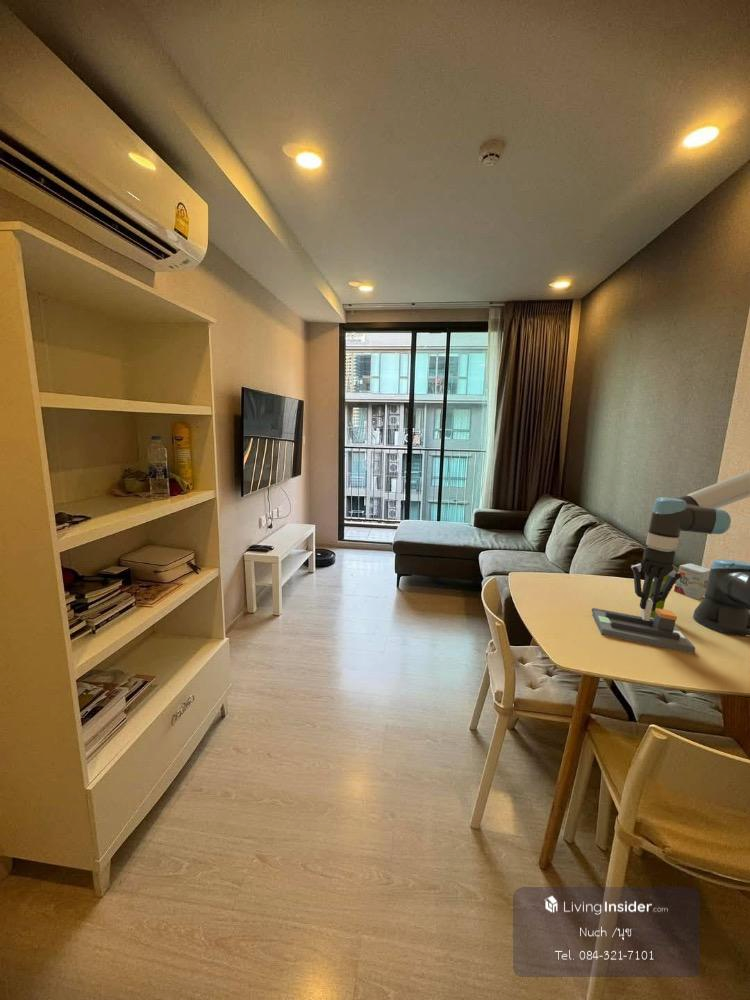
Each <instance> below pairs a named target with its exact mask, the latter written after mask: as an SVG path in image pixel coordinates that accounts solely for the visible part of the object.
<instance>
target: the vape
mask: <svg viewBox="0 0 750 1000" xmlns="http://www.w3.org/2000/svg"><path fill="white" fill-rule="evenodd" d="M669 574H670V573H669ZM669 574H667V575H666V576H665V577H664V579H663V582H662V584H661V589H662V587H663V585H664V584H665V582H666V580H667V578H668V577H669V576H670V575H669ZM654 579H655V578H653V580H652V584H651V588H650V593H649V597H648V598H650V599H651V593H652V588H653V584H654ZM661 589H660V591H661ZM665 603H666V600H665V601H659V602H658V603H656V608H658V609H664V607H665ZM656 608H655V610H656ZM655 610H654V611H652V610H651V615H650V617H651V618H654V617H655Z"/></svg>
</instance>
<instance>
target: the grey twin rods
mask: <svg viewBox="0 0 750 1000" xmlns="http://www.w3.org/2000/svg"><path fill="white" fill-rule="evenodd" d="M593 610H597V611H602V612H605V611H610V612H615V613H621V614H626V615H631V616H637V617H641V615H640V616H639V615H633V614H628V613H623V612H618V611H613V610H607V609H602V608H596V607H592V608H591V612H592V613H593ZM650 619H653V620H654V618H652V617H650Z"/></svg>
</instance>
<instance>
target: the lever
mask: <svg viewBox="0 0 750 1000" xmlns="http://www.w3.org/2000/svg"><path fill="white" fill-rule="evenodd" d="M653 619H654V622H653V627H654V628H655V629H660V630H665V631H670V632H673V630H674V626H675V625H676V621H677V619H678V616H677V614H675V613H674V612H673V611H672V610H670V609H669V610H668V609H664V608H663V609H658V608H656V610H655V617H653Z"/></svg>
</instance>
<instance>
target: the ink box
mask: <svg viewBox="0 0 750 1000" xmlns="http://www.w3.org/2000/svg"><path fill="white" fill-rule="evenodd" d="M677 572H678V573H679V574H681V577H680V578H679V579H678V580H676V582H675V583H674V589H673V592H676V593H678V594H681V595H684V596H685V597H689V598H692V599H695V600H700V599H702V598H703V596H705V593H706V588H707V584H708V579H709V574H710V568H708V567H707V568H706V567H703V566H701V565H697V564H694V563H685V564H681V565H679V568H678V571H677ZM703 599H704V598H703Z"/></svg>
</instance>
